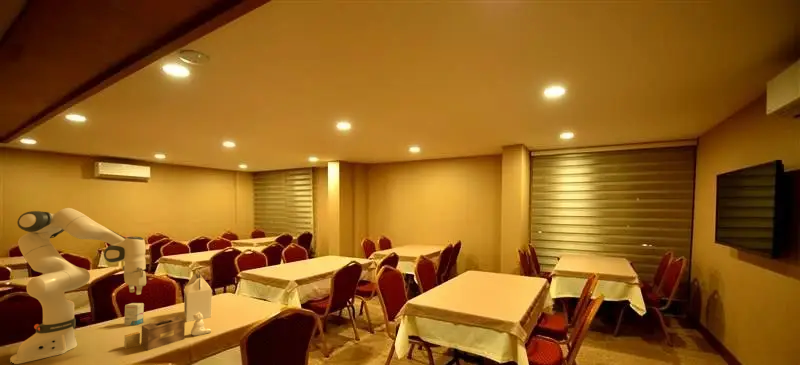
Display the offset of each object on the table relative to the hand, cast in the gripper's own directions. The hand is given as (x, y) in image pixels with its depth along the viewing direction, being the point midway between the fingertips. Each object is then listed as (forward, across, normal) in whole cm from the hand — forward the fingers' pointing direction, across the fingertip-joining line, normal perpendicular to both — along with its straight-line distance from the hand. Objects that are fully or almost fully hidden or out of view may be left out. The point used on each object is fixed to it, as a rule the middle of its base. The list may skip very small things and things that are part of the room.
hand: (135, 293), depth 174 cm
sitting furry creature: (+26, -18, -24) cm, 40 cm away
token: (+25, -6, +3) cm, 26 cm away
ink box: (+24, +33, -9) cm, 42 cm away
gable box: (+26, +16, -38) cm, 48 cm away
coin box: (+26, -14, -8) cm, 30 cm away
